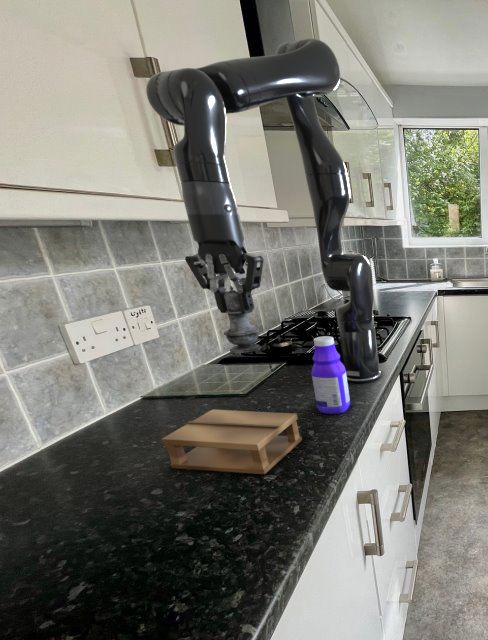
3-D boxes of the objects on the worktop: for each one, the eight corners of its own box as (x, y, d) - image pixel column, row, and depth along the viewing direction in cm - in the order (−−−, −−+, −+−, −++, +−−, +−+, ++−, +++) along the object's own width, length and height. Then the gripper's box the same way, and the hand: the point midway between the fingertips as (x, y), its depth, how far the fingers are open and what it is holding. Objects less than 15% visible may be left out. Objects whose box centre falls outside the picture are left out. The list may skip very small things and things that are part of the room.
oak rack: (220, 435, 84) (212, 407, 82) (302, 440, 83) (296, 412, 80) (171, 468, 73) (160, 437, 71) (264, 474, 71) (256, 443, 69)
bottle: (355, 405, 98) (344, 335, 91) (344, 416, 92) (332, 342, 86) (326, 404, 98) (313, 334, 92) (314, 414, 93) (300, 341, 87)
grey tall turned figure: (247, 354, 75) (231, 288, 71) (220, 352, 77) (203, 287, 72) (269, 345, 81) (256, 284, 76) (244, 344, 82) (230, 283, 77)
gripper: (265, 212, 72) (284, 309, 79) (193, 213, 74) (217, 307, 80) (236, 212, 65) (259, 317, 72) (156, 212, 67) (186, 315, 73)
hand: (236, 312), depth 76 cm, fingers closed on grey tall turned figure, 3 cm apart
